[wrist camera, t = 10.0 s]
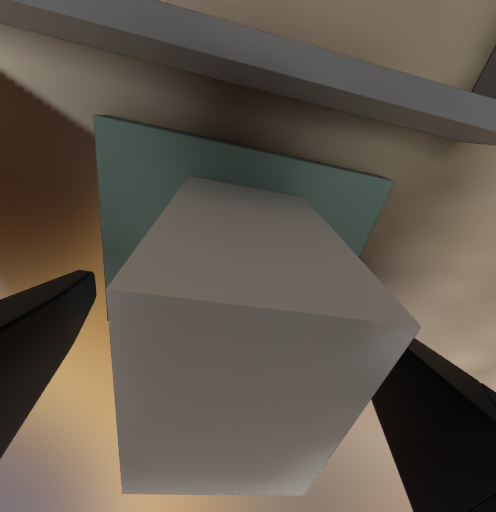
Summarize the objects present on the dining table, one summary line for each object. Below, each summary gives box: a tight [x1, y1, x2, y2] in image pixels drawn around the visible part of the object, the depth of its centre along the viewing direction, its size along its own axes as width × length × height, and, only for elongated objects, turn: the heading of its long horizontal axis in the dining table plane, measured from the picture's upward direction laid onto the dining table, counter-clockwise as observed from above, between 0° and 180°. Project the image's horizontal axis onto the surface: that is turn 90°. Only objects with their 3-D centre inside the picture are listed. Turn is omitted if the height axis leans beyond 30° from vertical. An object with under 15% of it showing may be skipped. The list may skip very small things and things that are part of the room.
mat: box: [93, 115, 395, 321], centre depth 12 cm, size 11×9×1 cm
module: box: [106, 176, 421, 496], centre depth 8 cm, size 4×6×7 cm
